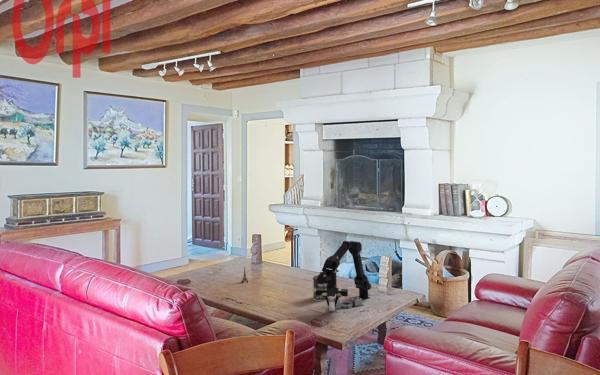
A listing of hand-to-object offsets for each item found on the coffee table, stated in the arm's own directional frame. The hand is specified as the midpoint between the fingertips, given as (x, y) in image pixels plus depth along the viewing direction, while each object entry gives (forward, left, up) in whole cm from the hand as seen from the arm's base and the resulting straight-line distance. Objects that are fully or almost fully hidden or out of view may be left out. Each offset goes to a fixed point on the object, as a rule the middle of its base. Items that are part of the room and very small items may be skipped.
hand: (331, 306), depth 268 cm
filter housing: (-5, +12, -4) cm, 14 cm away
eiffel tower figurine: (-81, -31, -4) cm, 87 cm away
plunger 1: (-5, +5, -3) cm, 8 cm away
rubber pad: (0, 0, -4) cm, 4 cm away
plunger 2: (-6, +19, -3) cm, 20 cm away
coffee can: (-25, +4, -4) cm, 26 cm away
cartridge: (0, 0, -2) cm, 2 cm away
